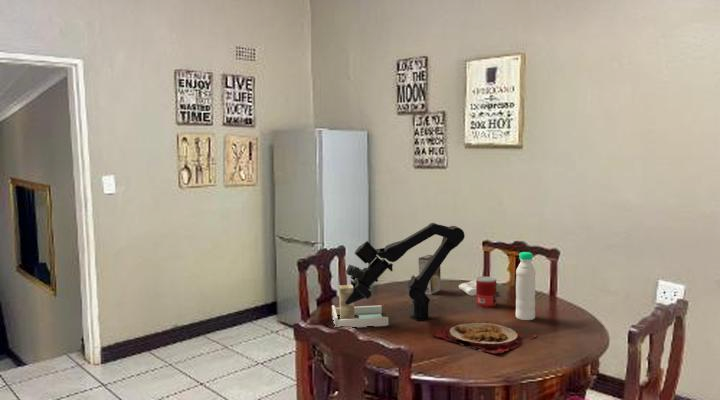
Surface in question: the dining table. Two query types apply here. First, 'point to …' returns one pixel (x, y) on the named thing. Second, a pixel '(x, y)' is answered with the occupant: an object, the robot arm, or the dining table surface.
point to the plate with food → (482, 336)
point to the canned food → (486, 291)
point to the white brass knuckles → (469, 287)
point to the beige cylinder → (344, 294)
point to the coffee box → (435, 281)
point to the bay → (361, 317)
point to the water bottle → (525, 288)
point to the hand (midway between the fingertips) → (345, 302)
